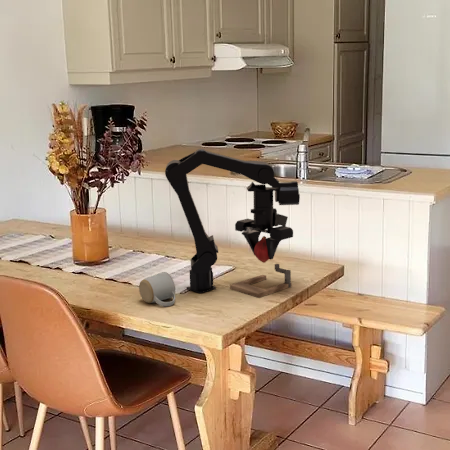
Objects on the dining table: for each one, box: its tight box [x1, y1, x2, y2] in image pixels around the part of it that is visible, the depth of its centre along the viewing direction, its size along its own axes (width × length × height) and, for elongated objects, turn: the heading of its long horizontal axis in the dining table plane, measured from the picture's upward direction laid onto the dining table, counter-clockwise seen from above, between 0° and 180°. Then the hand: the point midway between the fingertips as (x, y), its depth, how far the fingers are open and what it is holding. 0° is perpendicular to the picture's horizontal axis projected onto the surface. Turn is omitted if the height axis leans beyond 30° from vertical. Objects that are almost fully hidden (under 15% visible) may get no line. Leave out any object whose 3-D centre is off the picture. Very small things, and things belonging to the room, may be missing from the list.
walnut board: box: [229, 263, 293, 299], centre depth 209 cm, size 14×12×6 cm
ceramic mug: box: [138, 271, 176, 307], centre depth 199 cm, size 11×8×8 cm
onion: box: [253, 235, 270, 264], centre depth 208 cm, size 6×6×8 cm
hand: (263, 257), depth 209 cm, fingers closed on onion, 6 cm apart
